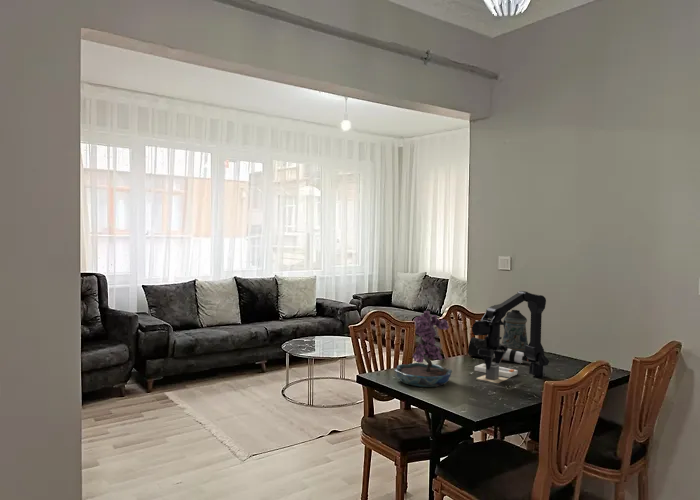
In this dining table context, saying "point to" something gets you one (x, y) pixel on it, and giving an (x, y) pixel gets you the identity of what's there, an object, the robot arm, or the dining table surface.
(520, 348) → the beer stein
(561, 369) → the dining table surface
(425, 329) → the bonsai tree
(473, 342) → the striped cylinder
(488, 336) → the robot arm
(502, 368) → the switch housing
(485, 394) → the dining table surface
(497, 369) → the block
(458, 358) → the dining table surface
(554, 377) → the dining table surface
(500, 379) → the birch pad
